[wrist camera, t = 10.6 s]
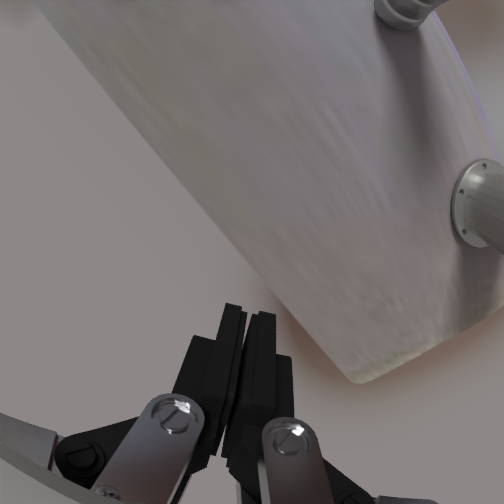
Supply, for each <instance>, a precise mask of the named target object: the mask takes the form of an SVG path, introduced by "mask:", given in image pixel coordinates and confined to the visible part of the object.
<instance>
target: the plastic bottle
mask: <svg viewBox="0 0 504 504" xmlns="http://www.w3.org/2000/svg"><path fill="white" fill-rule="evenodd" d="M446 1H448V0H374V8H375V11H376V13H377V15H378V16H379V17H380V19H381V20H382V21H383V22H385V23H386V24H387V25H389V26H391V27H393V28H395V29H399V30H410V29H413V28H416V27H418V26H420V25H421V24H422V23H423V22H424V20H425V19H426V18H427V16H428V15H429V14H430V13H431V12H432V11H433V10H434V9H435V8H436V7H437V6H439V5H441V4H443V3H445V2H446Z"/></svg>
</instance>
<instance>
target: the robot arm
mask: <svg viewBox="0 0 504 504" xmlns="http://www.w3.org/2000/svg"><path fill="white" fill-rule="evenodd" d="M451 211H452V219H453V223H454V227H455V229H456V231H457V233H458V235H459V236H460V238H462V239H463V240H464V241H465V242H466V243H468V244H469V245H471V246H473V247H476V248H485V247H489V246H492V247H494V248H495V249H497V250H499V251H500V252H502V253H503V254H504V167H503V166H501V165H500V164H499V163H497V162H495V161H492V160H488V159H481V160H477V161H475V162H473V163H471V164H470V165H469V166H467V167H466V168H465V169H464V171H463V172H462V173H461V175H460V176H459V178H458V180H457V182H456V185H455V188H454V191H453V196H452V206H451ZM241 310H242V307H241V306H237V305H233V304H229V303H226V305H225V308H224V312H223V315H222V319H221V322H220V326H219V330H218V334H217V337H216V340H211V339H208V338H204V337H200V336H196V335H194V336H193V338H192V340H191V343H190V345H189V348H188V350H187V353H186V356H185V358H184V361H183V364H182V367H181V369H180V372H179V374H178V377H177V380H176V383H175V385H174V388H173V391H172V393H171V394H169V393H168V394H162V395H159V396H157V397H155V398H153V399H152V400H151V401H150V402H149V403H148V404H147V406H146V407H145V409H144V410H143V412H142V413H141V415H140V416H139V417H135V418H132V419H129V420H126V421H122V422H119V423H116V424H112V425H108V426H105V427H102V428H98V429H94V430H90V431H86V432H82V433H78V434H74V435H71V436H68V437H63V436H60V435H57V433H56V432H55V431H52V430H48V429H45V428H42V427H39V426H35V425H32V424H29V423H26V422H23V421H21V420H18V419H15V418H12V417H10V416H7V415H5V414H2V413H0V504H180V502H181V499H182V497H183V495H184V493H185V491H186V488H187V486H188V484H189V482H190V479H191V477H192V474H194V473H196V472H198V471H200V470H202V469H204V468H206V467H207V464H208V461H209V458H210V455H213V456H216V453H217V450H218V447H219V444H220V441H221V438H222V435H223V432H224V429H225V426H226V429H225V435H224V442H223V447H222V454H221V457H223V458H227V465H226V467H228V468H229V473H230V474H231V475H232V476H233V477H234V478H235V479H236V480H237V482H236V492H237V504H438V503H437V502H435V501H433V500H427V499H410V498H398V497H389V496H378V497H377V498H375V497H371V496H370V495H369V494H368V493H367V492H366V491H365V490H363V489H362V488H361V487H359V486H358V485H357V484H355V483H354V482H353V481H351V480H350V479H349V478H348V477H346V476H345V475H344V474H343V473H341V472H340V471H339V470H337V469H336V468H335V467H334V466H332V465H331V464H330V463H329V462H328V461H326V460H325V459H324V458H323V457H322V454H321V450H320V447H319V443H318V439H317V437H316V435H315V432H314V431H313V430H312V428H311V427H310V426H309V425H307V424H306V423H304V422H303V421H301V420H298V419H296V418H294V396H293V376H292V360H291V357H289V356H284V355H279V354H276V314H272V313H267V312H263V311H259V313H258V315H256V314H252V316H251V319H250V323H249V327H248V330H247V334H246V337H245V341H244V344H243V338H244V332H245V325H246V319H247V312H243V311H241ZM242 345H243V348H242Z"/></svg>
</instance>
